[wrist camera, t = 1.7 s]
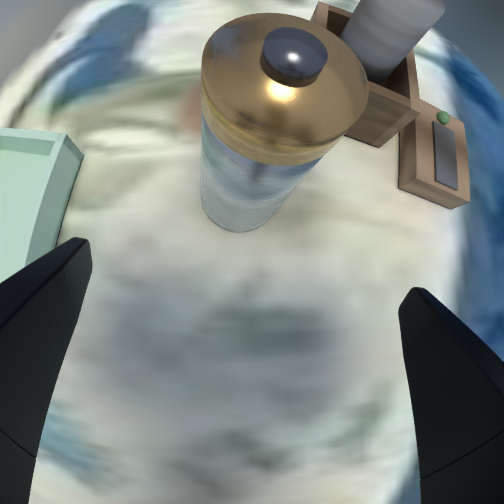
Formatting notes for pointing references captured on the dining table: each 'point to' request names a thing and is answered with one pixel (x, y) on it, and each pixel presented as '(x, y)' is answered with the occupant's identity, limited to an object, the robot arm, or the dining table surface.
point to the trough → (33, 193)
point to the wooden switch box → (435, 158)
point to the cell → (271, 112)
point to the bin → (383, 58)
